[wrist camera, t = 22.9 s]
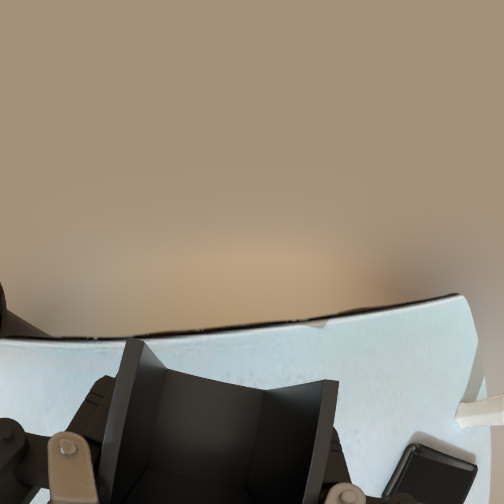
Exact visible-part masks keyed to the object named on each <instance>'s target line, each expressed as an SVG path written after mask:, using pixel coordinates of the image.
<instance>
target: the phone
mask: <svg viewBox="0 0 504 504" xmlns="http://www.w3.org/2000/svg"><path fill="white" fill-rule="evenodd" d="M477 471H478V467H477V465H474V464H472V463H469V462H466V461H463V460H460V459H457V458H455V457H452V456H449V455H447V454H444V453H441V452H439V451H436V450H434V449H431V448H429V447H426V446H424V445H422V444H411V445H409V446H408V447H407V448H406V449H405V451H404V453H403V456H402V458H401V460H400V462H399V464H398V466H397V468H396V470H395V472H394V474H393V476H392V477H391V479H390V481H389V483H388V485H387V487H386V488H385V490H384V492H383V494H382V497H381V498H383V499H388V498H389V497H390V496H391V495H393V494H395V493H400V492H401V493H407V494H409V495H411V496H412V497H413V498H414V499H415V500H416V501H417V503H418V504H463V503H464V501H465V499H466V497H467V495H468V493H469V490H470V488H471V486H472V484H473V481H474V479H475V477H476V474H477Z"/></svg>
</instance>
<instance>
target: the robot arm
mask: <svg viewBox="0 0 504 504" xmlns="http://www.w3.org/2000/svg"><path fill="white" fill-rule="evenodd" d="M117 375H118V373H117ZM117 375H116V377H115V378H113V377H110V376H107V375H105V376H104V377H102V378H100V379H99V380H97V381H96V382H95V383H94V385H93V387H92V388H91V390H90V392H89V393H88V395H87V396H86V398H85V401H83V403H82V404H81V406H80V408H79V409H78V411H77V413H76V414H75V416H74V418H73V419H72V421H71V423H70V424H69V426H68V428H67V429H66V430H65V431H64V432H59V433H56V434H54V435H53V436H52V437H46V436H40V435H36V434H31V433H27V432H25V431H24V429H23V427H22V426H21V425H20V424H19V423H18V422H17V421H15V420H13V419H10V418H0V504H29V503H30V502H31V501H32V499H33V498H34V497H35V495H36V494H37V493H38V491H39V490H40V489H41V488H45V489H50V501H48V503H47V504H100V501H99V496H98V491H97V486H96V479H97V473H98V466H99V460H100V454H101V449H102V443H103V438H104V433H105V428H106V423H107V418H108V413H109V409H110V404H111V400H112V395H113V391H114V387H115V383H116V379H117ZM318 504H418V503H417V501H416V500H415V499H414V498H413V497H412V496H411V495H409V494H407V493H401V492H400V493H395V494H393V495H391V496H390V497H389V498H388V499H383V498H376V497H370V496H366V495H365V494H364V492H363V491H362V490H361V489H360V488H359V487H358V486H356V485H354V484H352V482H351V479H350V476H349V472H348V468H347V465H346V461H345V458H344V454H343V452H342V447H341V444H340V440H339V437H338V433H337V431H336V429H335V428H334V427H333V430H332V436H331V442H330V448H329V453H328V459H327V464H326V469H325V474H324V479H323V484H322V488H321V493H320V497H319V501H318Z"/></svg>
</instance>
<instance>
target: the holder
mask: <svg viewBox="0 0 504 504" xmlns="http://www.w3.org/2000/svg"><path fill="white" fill-rule="evenodd" d="M338 387H339V381H334V380H326V379H325V380H320V381H315V382H310V383H305V384H300V385H294V386H288V387H282V388H276V389H270V390H262V389H256V388H250V387H245V386H240V385H235V384H230V383H225V382H220V381H215V380H211V379H206V378H202V377H198V376H194V375H190V374H186V373H182V372H178V371H174V370H171V369H167V368H166V367H165V366H164V364H163V363H162V362H161V361H160V360H159V359H158V358H157V356H156V355H155V354H154V353H153V352H152V351H151V349H150V348H149V347H148V346H147V345H146V343H145V342H144V341H141V340H138V339H135V338H131V337H128V338H127V342H126V345H125V349H124V352H123V356H122V360H121V363H120V367H119V371H118V375H117V379H116V383H115V387H114V391H113V395H112V400H111V404H110V409H109V413H108V418H107V423H106V428H105V433H104V438H103V443H102V449H101V454H100V460H99V466H98V473H97V479H96V486H97V491H98V496H99V501H100V504H318V501H319V497H320V493H321V488H322V484H323V479H324V474H325V469H326V464H327V459H328V453H329V448H330V442H331V436H332V430H333V424H334V417H335V410H336V403H337V395H338Z"/></svg>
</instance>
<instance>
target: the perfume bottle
mask: <svg viewBox="0 0 504 504" xmlns="http://www.w3.org/2000/svg"><path fill="white" fill-rule="evenodd" d="M454 420H455V421H456V423H457V424H458V426H459V427H460V429H464V428H466V427H469V426H489V425H504V394H501V395H497V396H494V397H491V398H487V399H484V400H480V401H476V402H473V403H468V402H460V403H459V406H458V409H457V412H456V415H455V418H454Z"/></svg>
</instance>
